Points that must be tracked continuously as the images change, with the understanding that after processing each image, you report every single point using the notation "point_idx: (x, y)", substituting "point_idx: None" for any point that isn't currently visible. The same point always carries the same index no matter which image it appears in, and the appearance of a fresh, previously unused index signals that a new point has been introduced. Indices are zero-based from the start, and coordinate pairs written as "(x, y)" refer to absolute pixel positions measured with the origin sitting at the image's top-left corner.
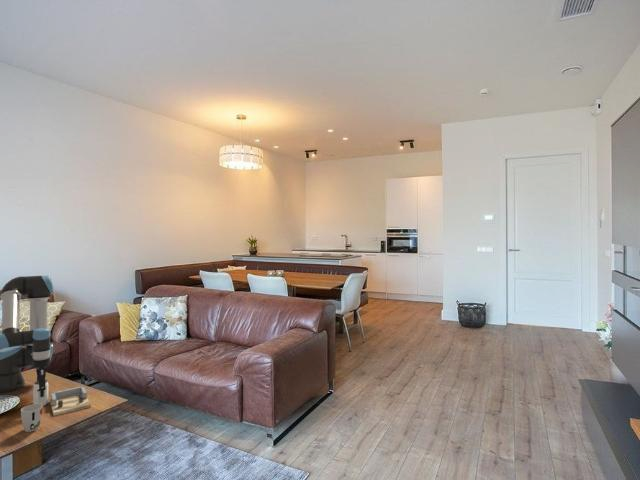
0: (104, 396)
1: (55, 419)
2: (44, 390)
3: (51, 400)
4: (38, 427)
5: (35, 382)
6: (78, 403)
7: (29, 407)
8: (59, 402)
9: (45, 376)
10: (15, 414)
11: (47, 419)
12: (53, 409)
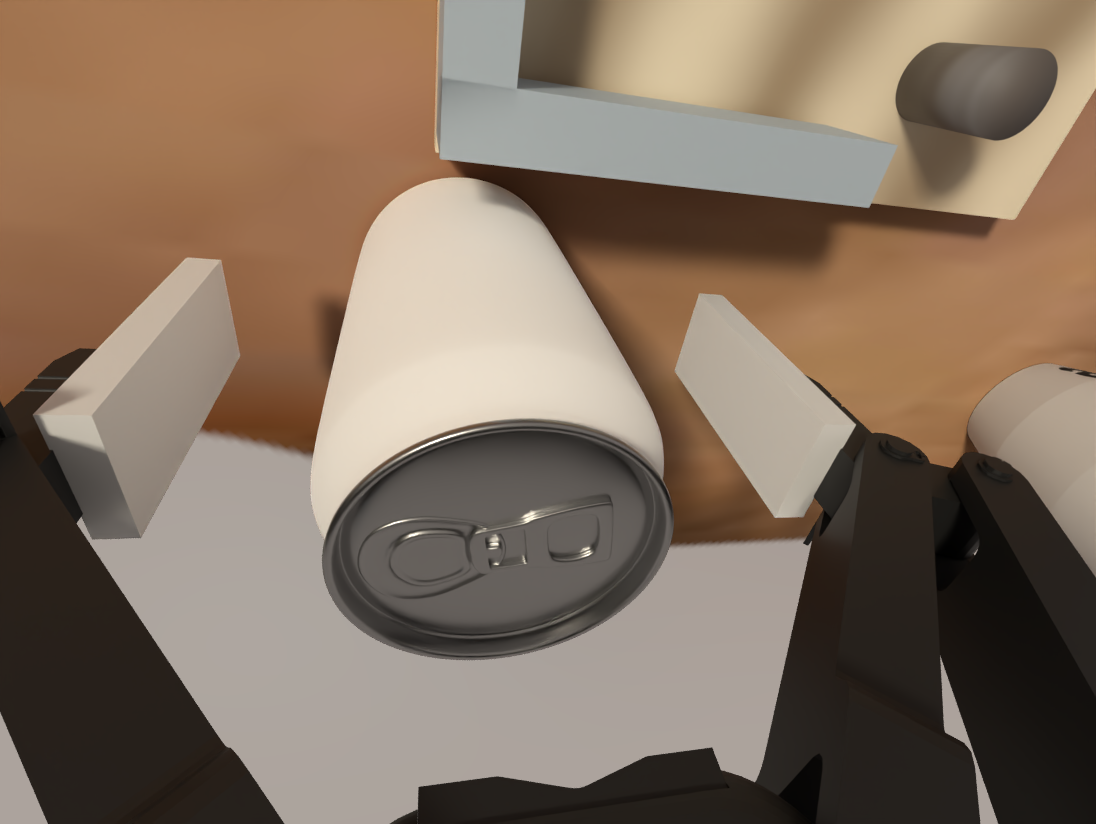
0: None
1: (1082, 207)
2: (836, 426)
3: None
4: (1063, 366)
5: (420, 647)
6: None
7: None
8: (1020, 121)
9: (928, 727)
10: None
11: (989, 277)
12: (916, 196)
